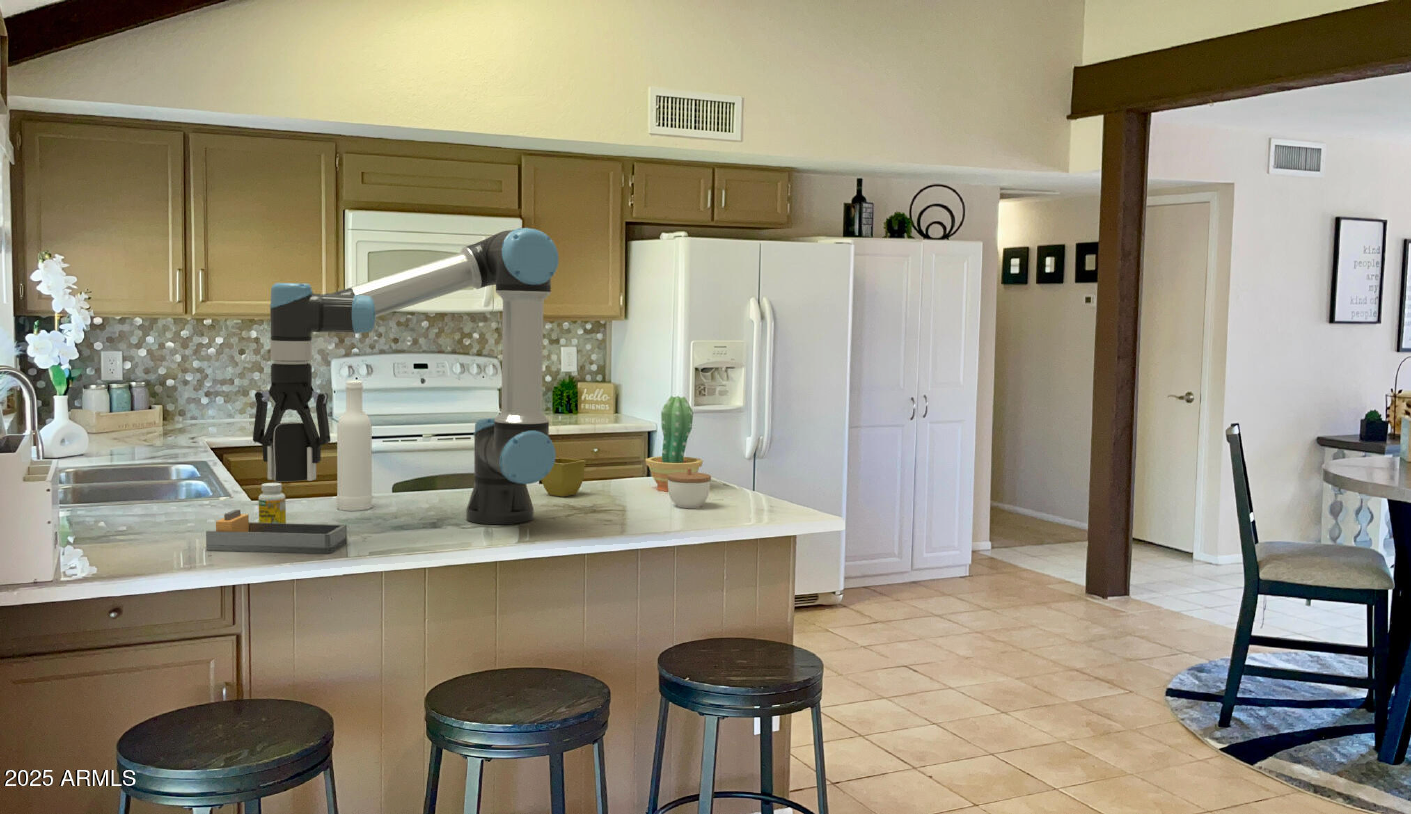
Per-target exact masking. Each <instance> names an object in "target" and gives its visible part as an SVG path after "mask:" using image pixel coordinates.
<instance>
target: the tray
mask: <svg viewBox="0 0 1411 814" xmlns="http://www.w3.org/2000/svg"><path fill="white" fill-rule="evenodd" d="M347 527H348V525H347V524H330V523H329V524H327V523H326V524H323V523H292V522H291V523H290V522H286V523H259V521H258V522H251V521H249V532H234V531H216V530H206V531H205V543H206V544H205V548H206V549H205V550H206V551H214V552H215V551H217V552H218V551H220V552H221V551H222V552H252V553H253V552H254V553H257V552H258V553H282V554H283V553H285V554H287V553H288V554H292V553H293V554H316V555H317V554H321V555H322V554H325V555H329V554H331V553H333V552H335V551H336V550H338V549H340V548H341V547H343V546H344V545H346V544H347V543H348V541H347V540H348V537H347V536H348V533H347V531H348V529H347Z"/></svg>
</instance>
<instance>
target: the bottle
mask: <svg viewBox="0 0 1411 814" xmlns="http://www.w3.org/2000/svg"><path fill="white" fill-rule="evenodd" d="M345 384H346V385H345V390H346V391H345V396H346V397H345V400H346V401H345V402H346V403H345V405H346V407H345V408H346V410H345V412H343V413H342V414H341V415H340V416H339V419H338V421H337V425H336V430H337V431H336V440H337V441H336V443H337V444H336V447H337V448H336V451H337V453H336V454H337V455H336V457H337V459H336V463H337V465H336V467H337V469H336V471H337V472H336V473H337V475H336V476H337V478H336V479H337V485H336V487H337V493H336V494H337V495H336V502H337V509H338V510H339V511H344V512H360V511H367V510H370V509H372V507H373V504H372V503H373V493H372V491H373V485H372V482H373V481H372V480H373V477H372V475H373V474H372V473H373V472H372V468H373V465H372V464H373V462H372V461H373V460H372V459H373V457H372V456H373V455H372V453H373V452H372V450H373V449H372V448H373V447H372V445H373V440H372V437H373V436H372V433H373V431H372V427H373V426H372V423H371V420H370V417H369V416H368V415H367V414H366V413H365V412H364V411H363V390H364V386H363V381H362V380H354V379H353V380H346V383H345Z"/></svg>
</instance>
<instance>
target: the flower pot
mask: <svg viewBox="0 0 1411 814" xmlns="http://www.w3.org/2000/svg"><path fill="white" fill-rule="evenodd" d="M585 468H586V460H582V459H576V458H573V459H572V458H566V457H557V458H556V457H555V462H554V465H553V467H552V469H551V471H550V472H549V473H548V474H547V475H546V476H545V477H544V478H543V479H541V480H540V481H541V482H542V485H543V488H544V489H545V491H546V493H547V494H548V495H550V496H554V497H555V496H557V497H562V498H564V497H568V496H574V495H576V494H577V493H578V491H579V490H580V488H581V486H582V485H583V481H584V476H585Z"/></svg>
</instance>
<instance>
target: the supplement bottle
mask: <svg viewBox="0 0 1411 814" xmlns="http://www.w3.org/2000/svg"><path fill="white" fill-rule="evenodd" d="M282 487H283V485H282V483H281V482H280V483H279V482H266V483H261V492H262V493H260V494H259V495H258V522H259V523H287V517H286V516H287V511H286V509H287V508H286V506H287V504H286V501H287V500H286V495H285V494H284V493H283V492H281V491H282V489H283V488H282Z"/></svg>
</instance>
